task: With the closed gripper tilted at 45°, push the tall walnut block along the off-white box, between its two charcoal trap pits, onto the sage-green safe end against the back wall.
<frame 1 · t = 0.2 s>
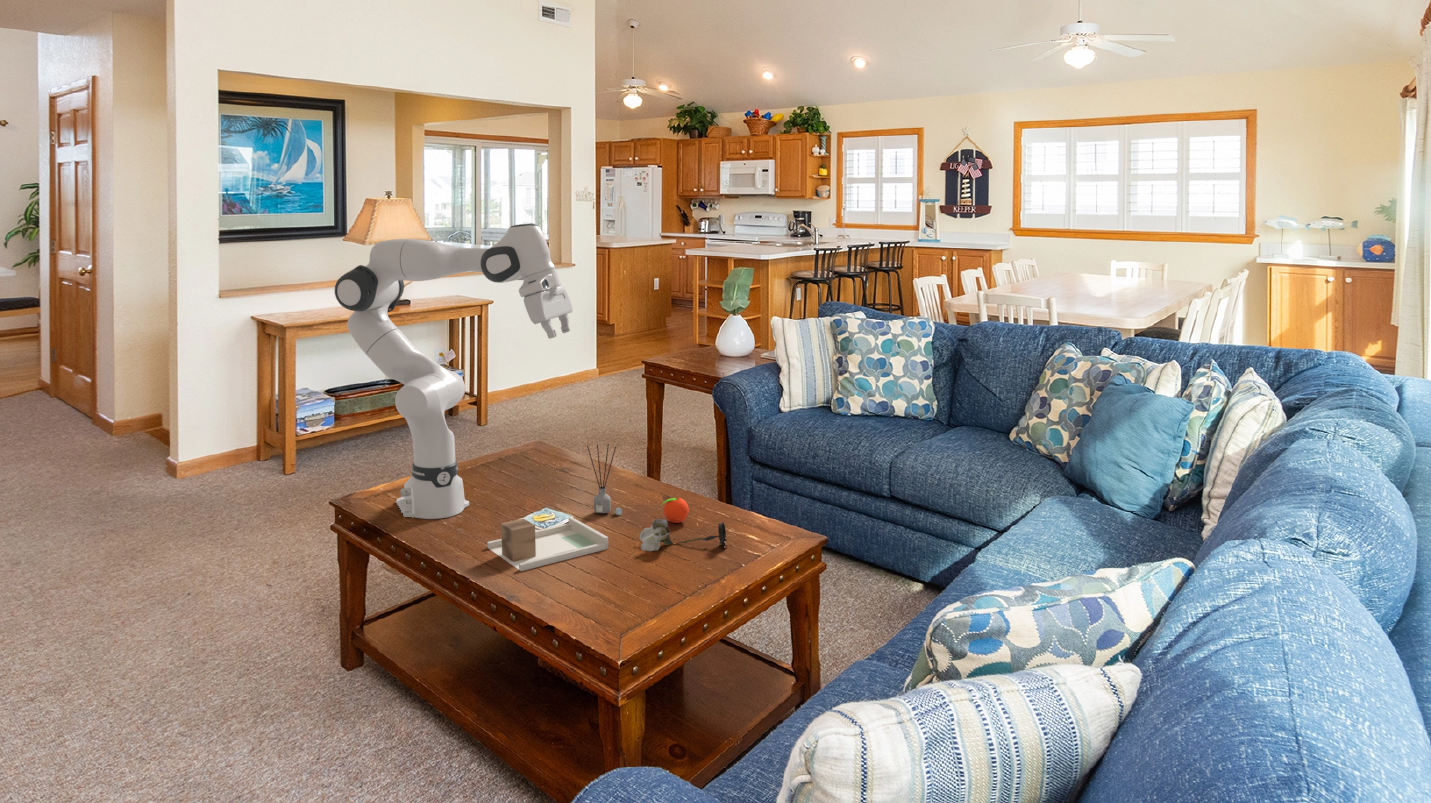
hand: (559, 335, 239), 52 cm above the table, tool tilted 20°, fingers open, 8 cm apart
clementine: (674, 522, 252), on the table
trap box: (548, 553, 228), on the table
walnut block: (518, 555, 223), point 1 cm above the table, touching trap box
artificial flower: (682, 548, 235), on the table
reed diffuser: (605, 512, 259), on the table
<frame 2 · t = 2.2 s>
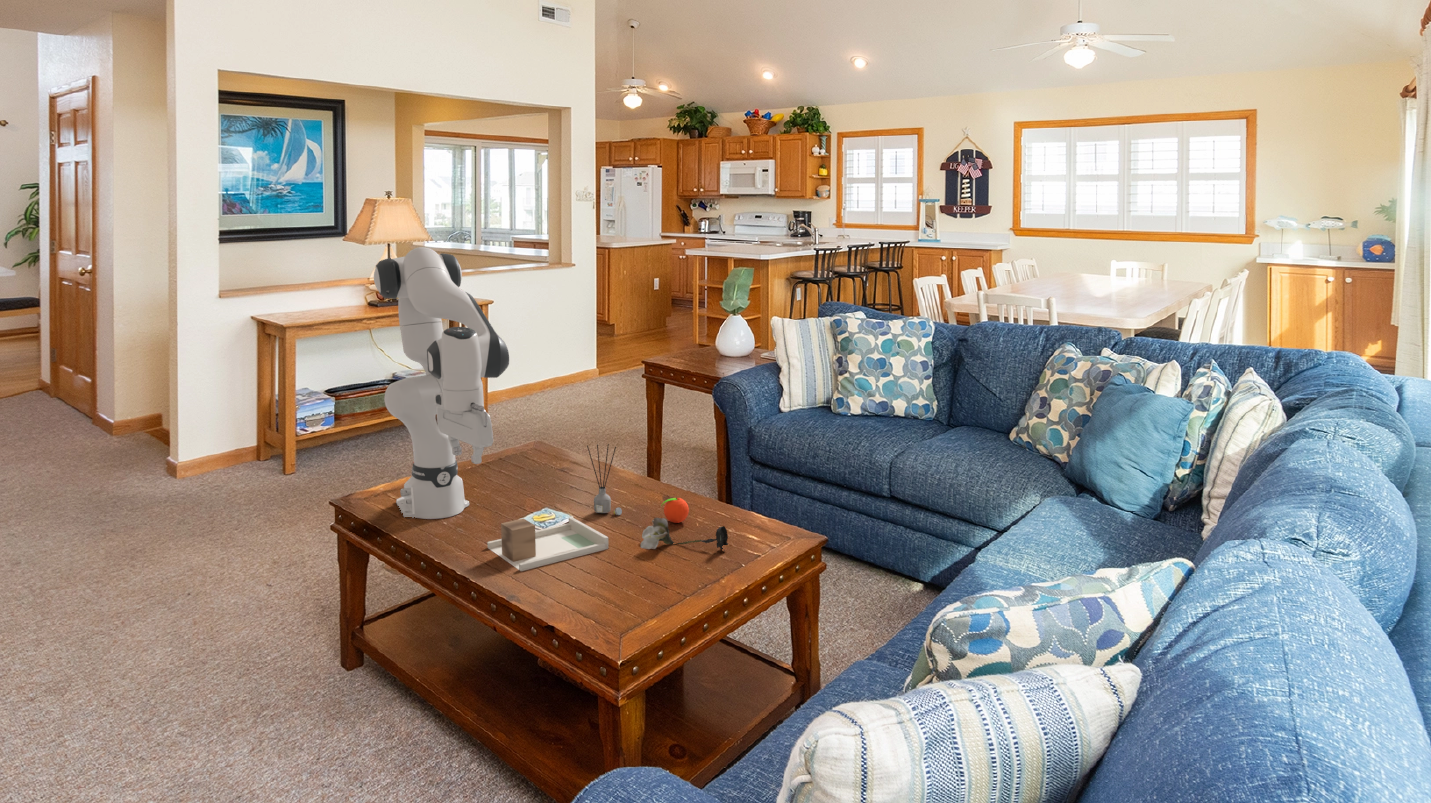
hand: (466, 458, 210), 28 cm above the table, tool pointing down, fingers open, 8 cm apart
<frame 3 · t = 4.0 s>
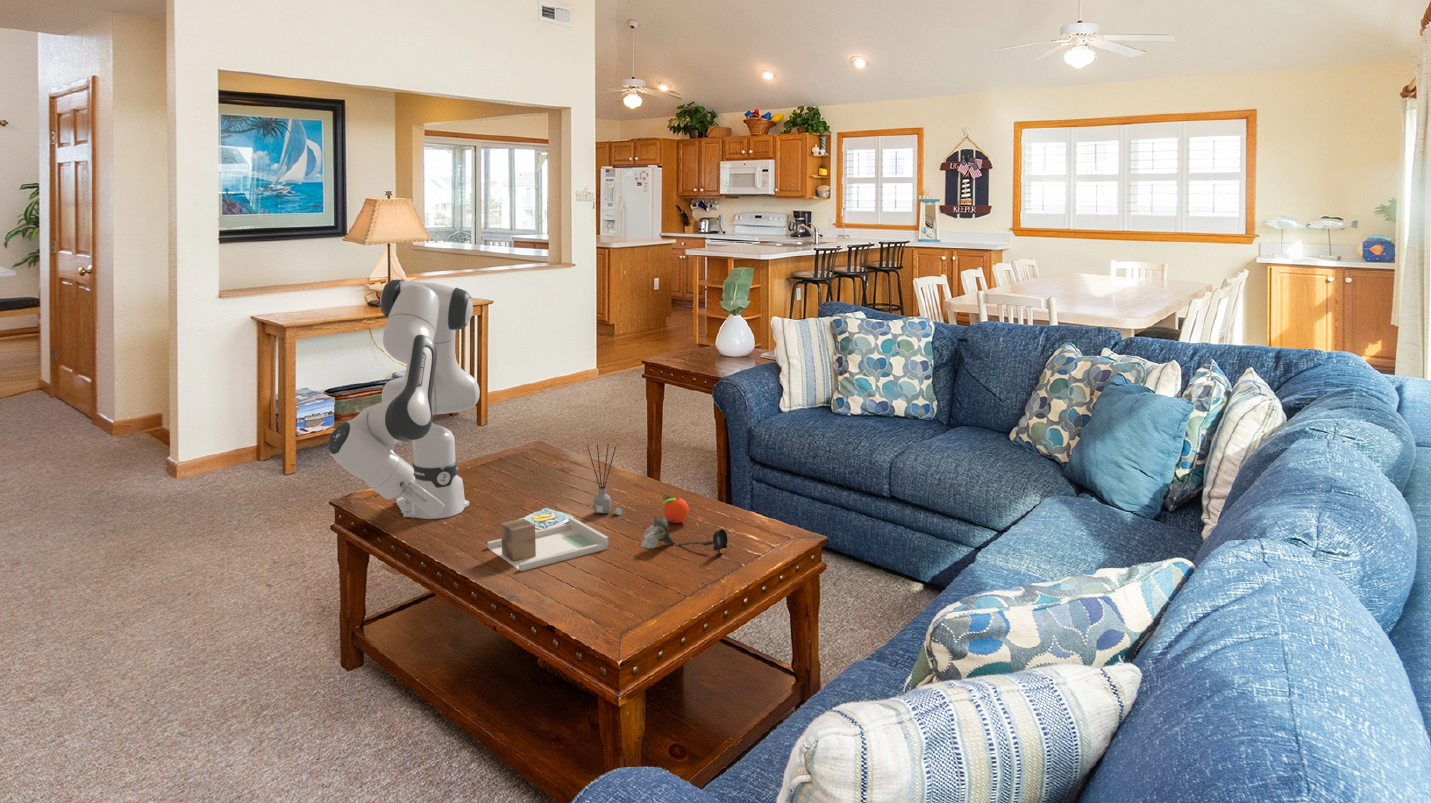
hand: (438, 512, 208), 17 cm above the table, tool tilted 45°, fingers closed
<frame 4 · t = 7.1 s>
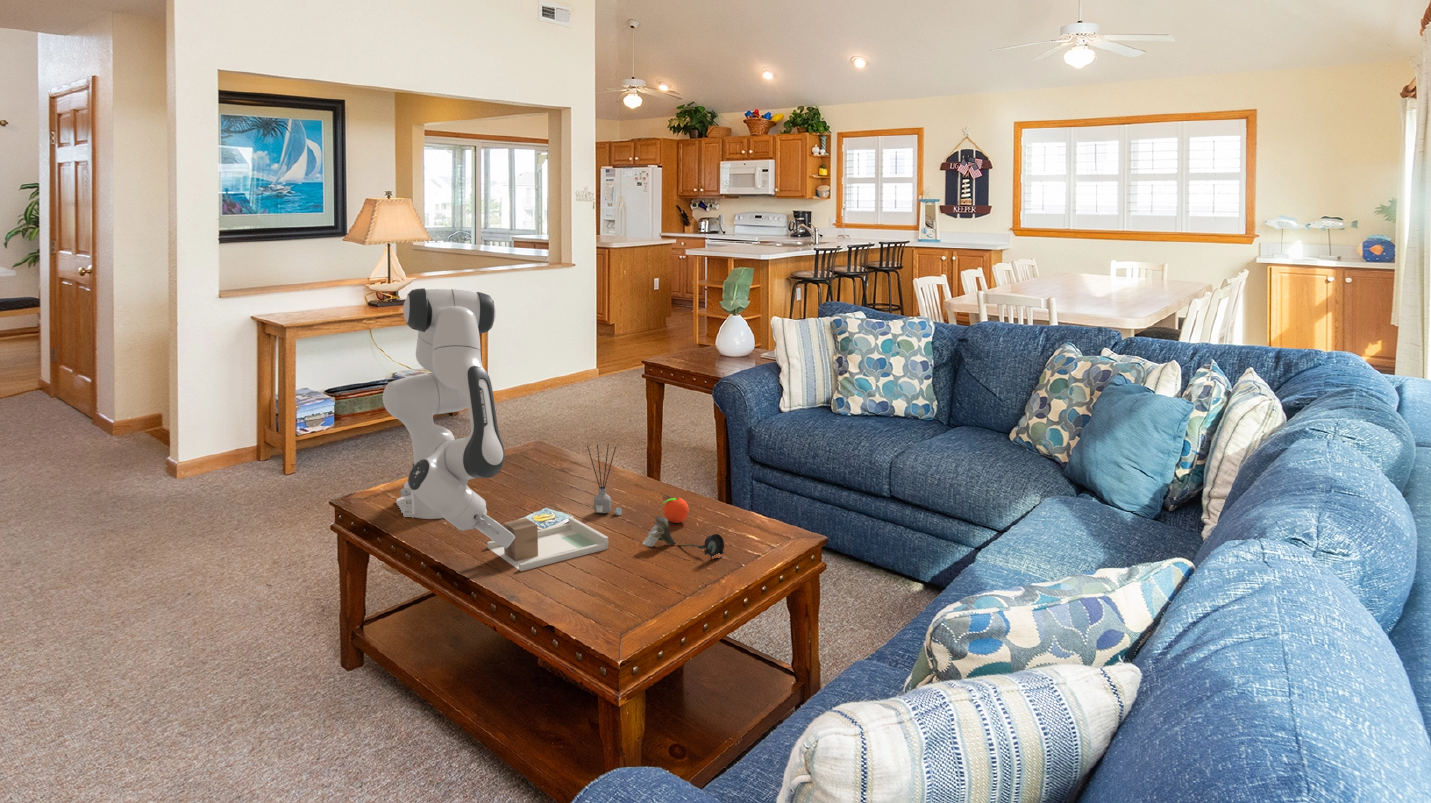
hand: (506, 541, 220), 6 cm above the table, tool tilted 45°, fingers closed, pressing on walnut block
walnut block: (521, 554, 224), point 1 cm above the table, touching gripper, trap box
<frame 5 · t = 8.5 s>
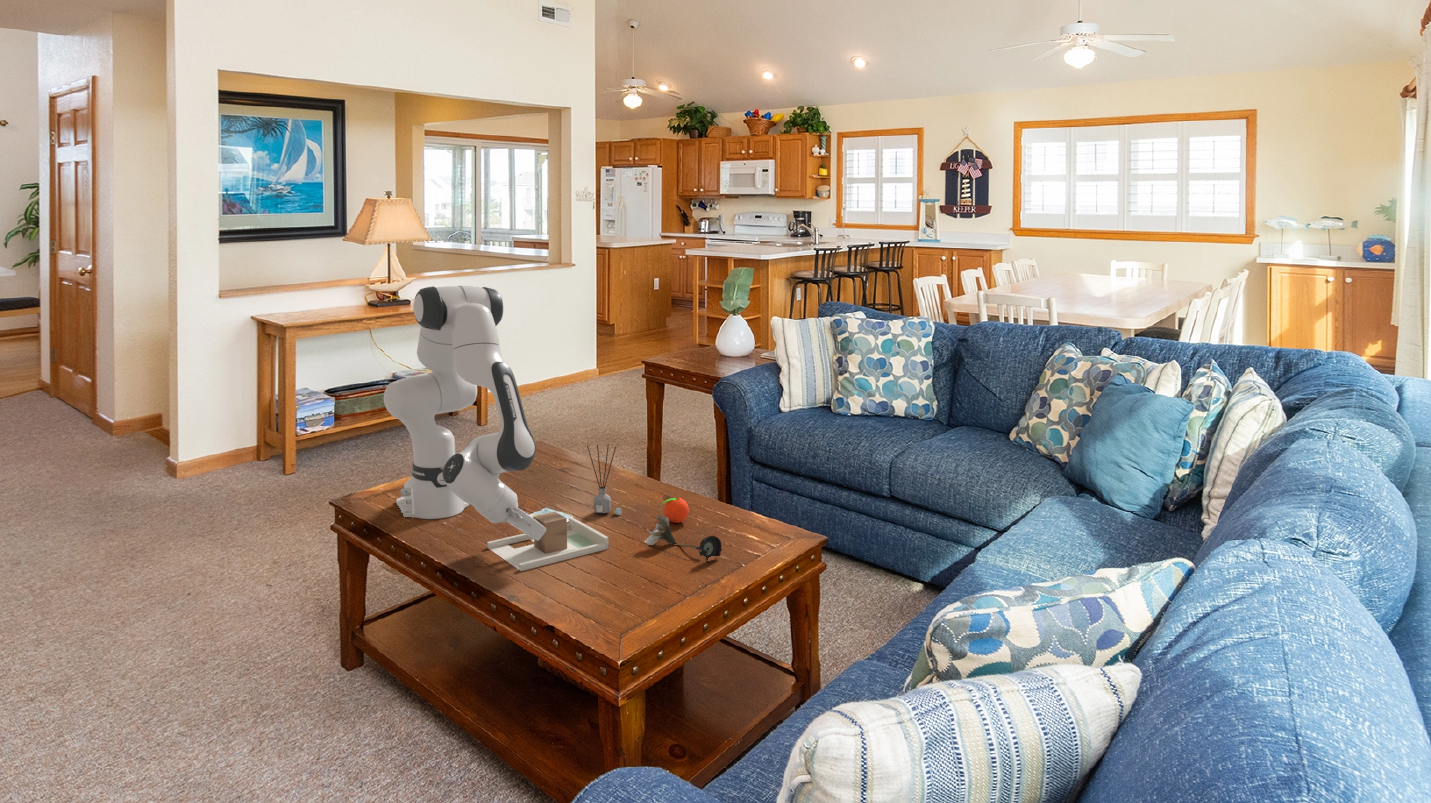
hand: (536, 534, 225), 6 cm above the table, tool tilted 45°, fingers closed
walnut block: (550, 547, 228), point 1 cm above the table, touching trap box
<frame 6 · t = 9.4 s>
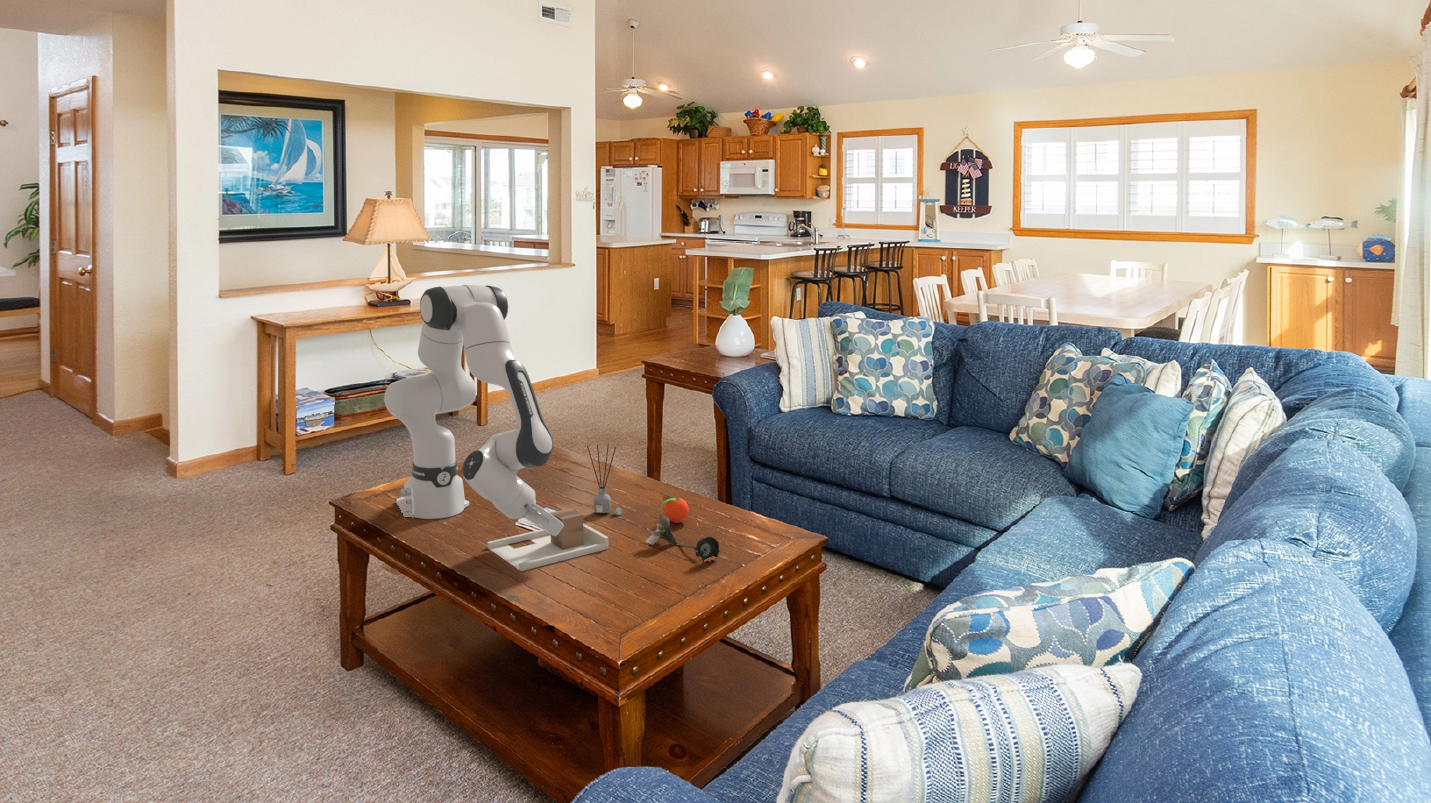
hand: (553, 530, 228), 6 cm above the table, tool tilted 45°, fingers closed, pressing on walnut block
walnut block: (567, 543, 231), point 2 cm above the table, touching gripper
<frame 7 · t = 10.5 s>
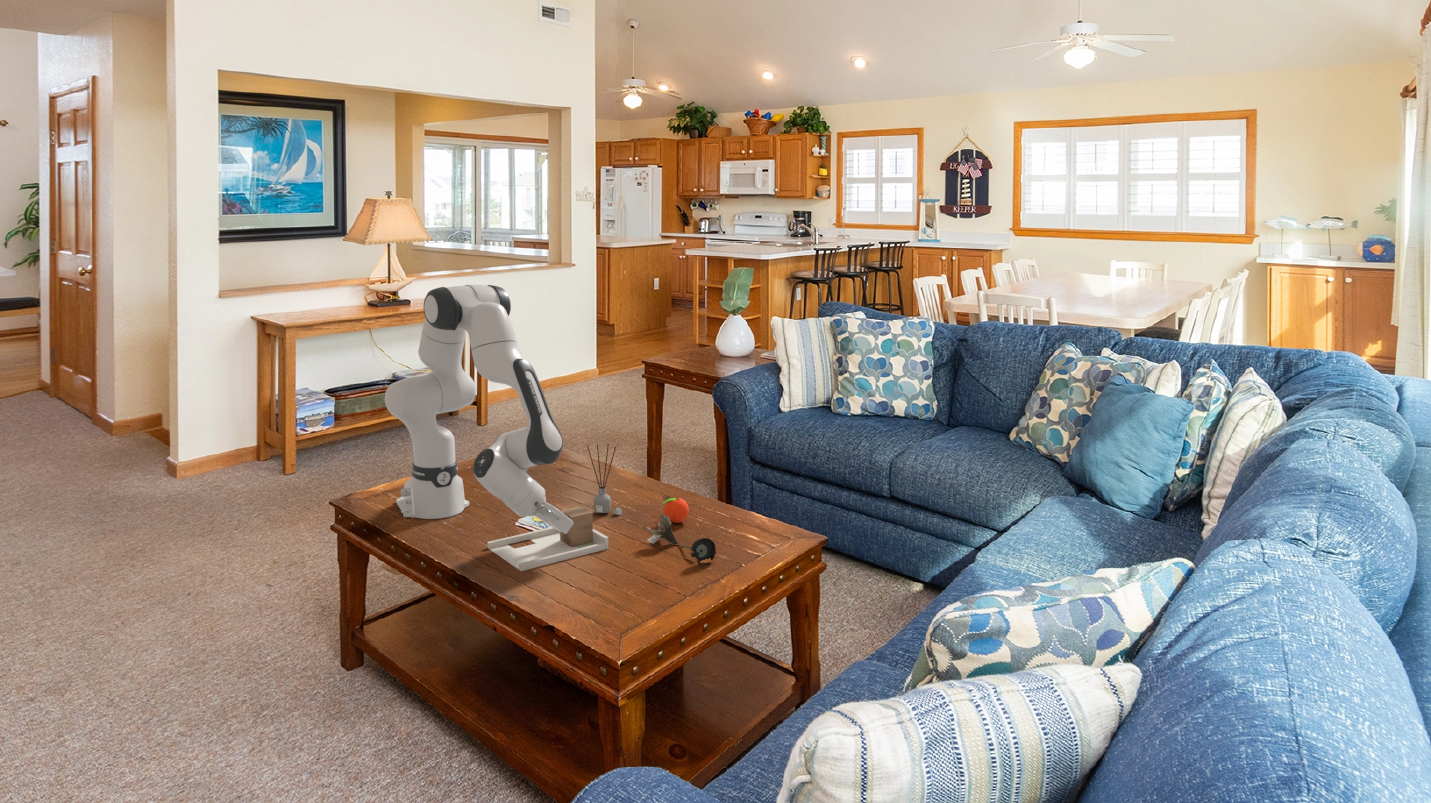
hand: (563, 527, 230), 6 cm above the table, tool tilted 45°, fingers closed, pressing on walnut block
walnut block: (576, 541, 233), point 1 cm above the table, touching gripper, trap box
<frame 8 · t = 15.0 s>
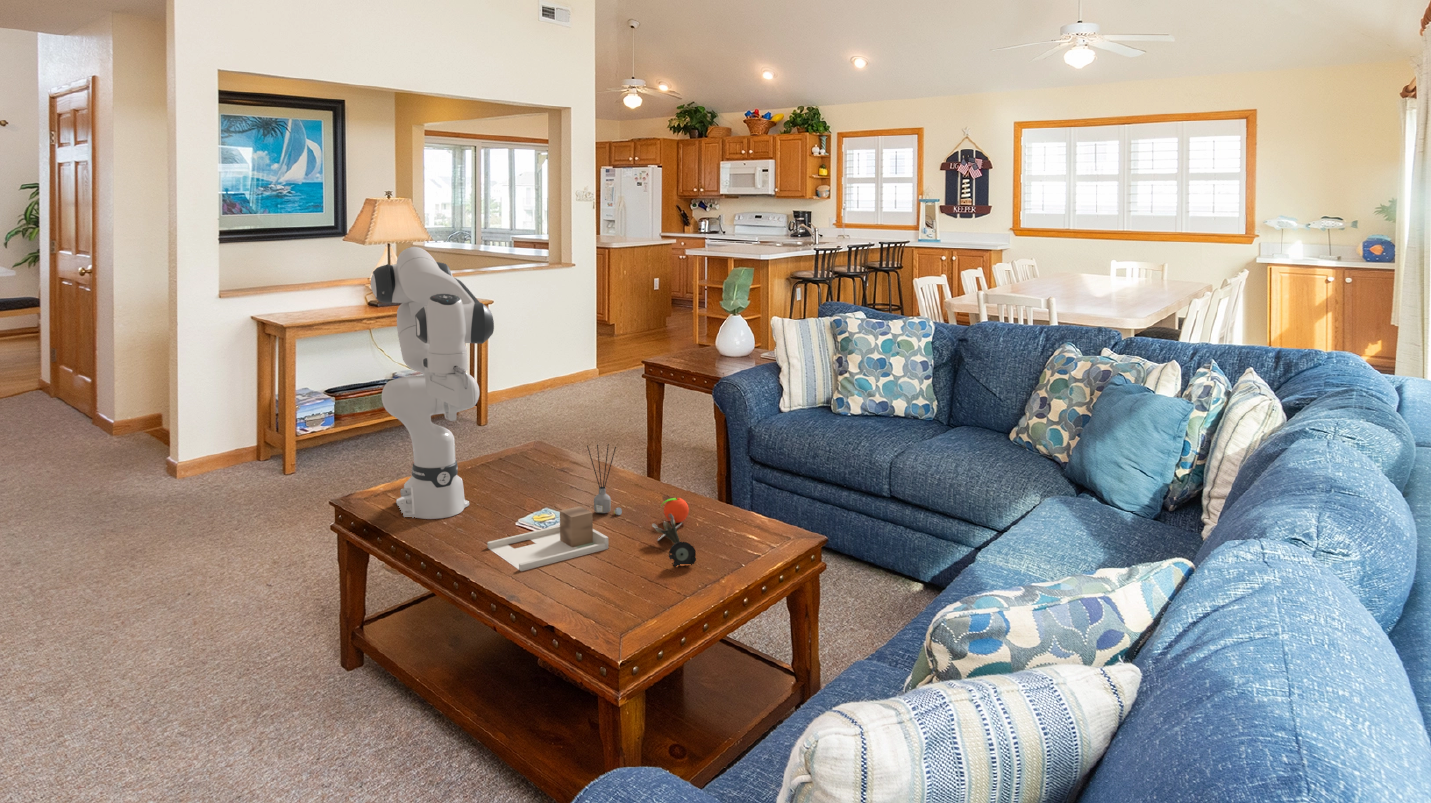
hand: (450, 419, 221), 34 cm above the table, tool pointing down, fingers closed
walnut block: (576, 541, 233), point 1 cm above the table, touching trap box
at the end: walnut block 0.5 cm from the target spot on the trap box, point 1.5 cm above the trap box's base; walnut block tilted 0° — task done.
